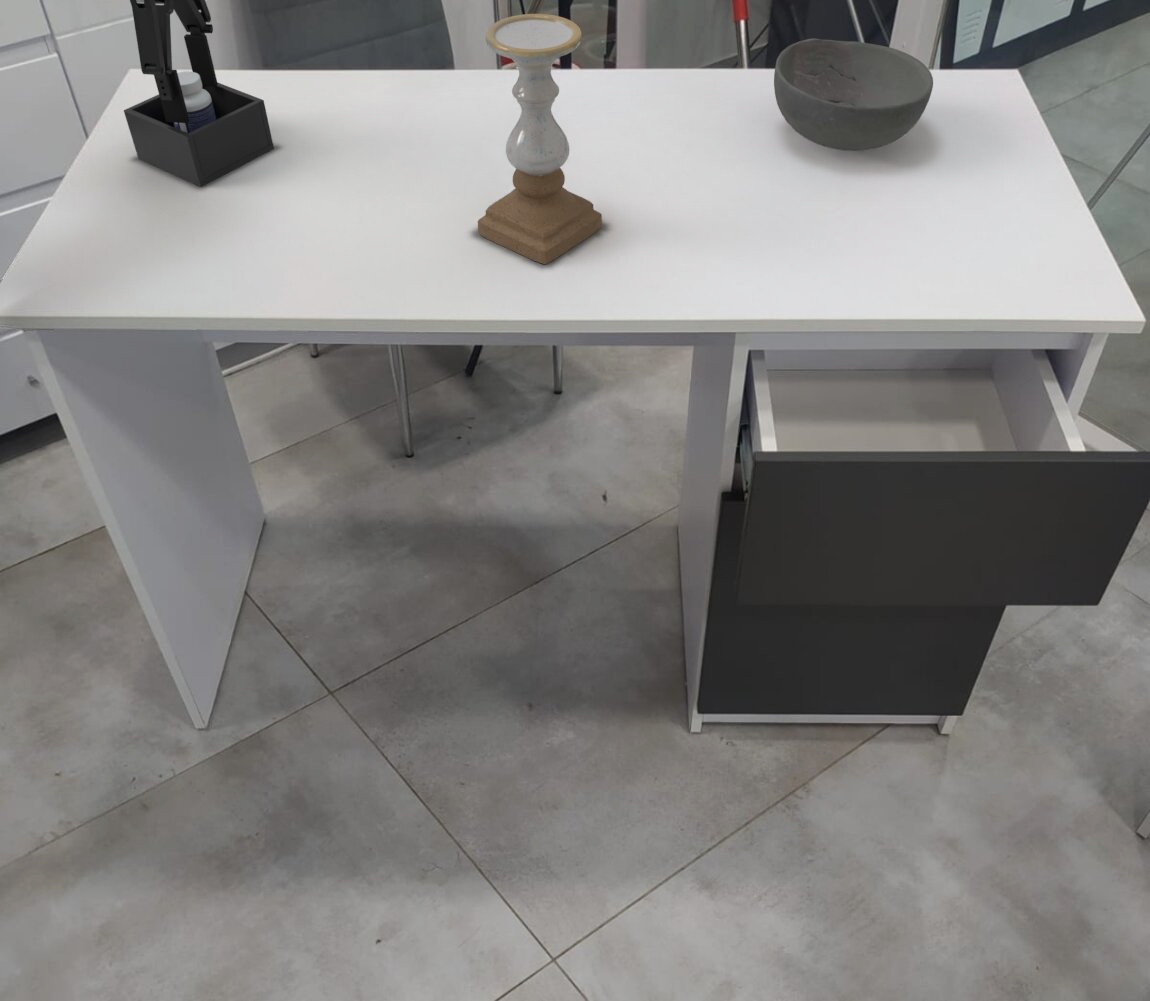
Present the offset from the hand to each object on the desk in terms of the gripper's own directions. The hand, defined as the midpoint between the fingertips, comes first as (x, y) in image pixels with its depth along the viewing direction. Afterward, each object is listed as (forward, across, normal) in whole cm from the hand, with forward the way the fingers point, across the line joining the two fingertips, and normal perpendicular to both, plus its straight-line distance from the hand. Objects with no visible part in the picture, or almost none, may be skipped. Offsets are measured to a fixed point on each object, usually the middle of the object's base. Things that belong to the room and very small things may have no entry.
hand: (192, 102), depth 144 cm
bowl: (+7, +12, -85) cm, 86 cm away
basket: (+7, 0, 0) cm, 7 cm away
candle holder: (+7, -14, -47) cm, 50 cm away
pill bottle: (+7, 0, 0) cm, 7 cm away
